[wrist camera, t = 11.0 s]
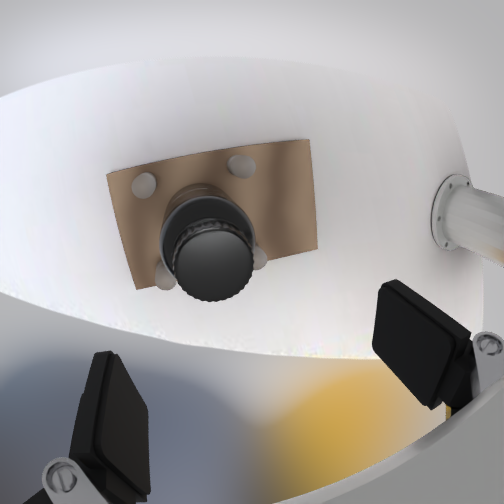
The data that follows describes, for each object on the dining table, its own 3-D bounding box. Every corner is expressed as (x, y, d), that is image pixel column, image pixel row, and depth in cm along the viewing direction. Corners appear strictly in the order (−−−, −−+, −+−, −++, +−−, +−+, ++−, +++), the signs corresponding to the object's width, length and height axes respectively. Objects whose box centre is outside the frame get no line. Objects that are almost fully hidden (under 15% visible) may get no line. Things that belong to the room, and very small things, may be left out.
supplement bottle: (188, 168, 25) (198, 181, 14) (247, 206, 28) (296, 245, 17) (150, 229, 26) (135, 285, 15) (209, 263, 29) (232, 332, 18)
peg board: (303, 139, 29) (323, 139, 24) (311, 244, 33) (330, 258, 29) (109, 173, 25) (98, 177, 21) (137, 283, 29) (133, 304, 25)
